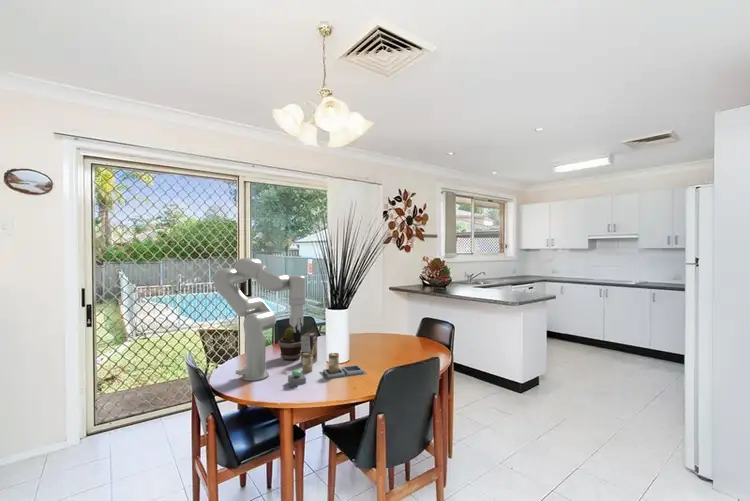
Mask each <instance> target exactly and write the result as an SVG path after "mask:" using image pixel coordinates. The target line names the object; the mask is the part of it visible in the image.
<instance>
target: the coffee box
mask: <svg viewBox="0 0 750 501" xmlns="http://www.w3.org/2000/svg"><path fill="white" fill-rule="evenodd" d="M300 337H301V357H300V359H301V360H300V365H301V366H302V363H303V357H302V355H303V353H312V365H313V364H315V363H316V362H317V361H318V332H306V333H304V334H303V335H300Z"/></svg>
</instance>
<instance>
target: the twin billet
mask: <svg viewBox="0 0 750 501" xmlns="http://www.w3.org/2000/svg"><path fill="white" fill-rule="evenodd" d="M339 357H340V354H339V353H338V352H330V353H329V354H328V369H329V374H334V373H339V368H340V366H339V365H340V364H339V362H340V358H339Z"/></svg>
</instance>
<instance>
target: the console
mask: <svg viewBox="0 0 750 501" xmlns="http://www.w3.org/2000/svg"><path fill="white" fill-rule="evenodd" d="M287 383H288V385H289V388H292V389H293V388H297V387H298V385H303V384H306V383H307V378H306V376H305V375H304V372H302V374H301V375H299V377H298V378H295V376H293V375H292V374H289V375H287Z"/></svg>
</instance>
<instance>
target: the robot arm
mask: <svg viewBox="0 0 750 501" xmlns="http://www.w3.org/2000/svg"><path fill="white" fill-rule="evenodd" d="M250 279H251V280H253V281H256V282H257V284H258V285H259V286H260V287H261V288H264V289H266V290H269V291H271V292H281V291H288V292H289V293H288V306H290V307H289V323H288V324H289V325H290V327H293V328H292V329H293V341H300V337H301V331H302V330H301V328H302V327H303V326H304V306H306V276H304V275H293V274H289V273H287V274H278V275H277V274H276V275H275V274H272V273H270V272H269V269H268V267H267V265H265V264H263V262H262V261H261V260H260V259H259V258H256V257H243V258H242V257H241V258H240V259H237V260H236V261H235V264H234V267H225V268H221V269H219V270H217V271H216V272H214V275H213V285H214V288H215V289H216V291H217V293H218V294H220V296H221V297H222V298H223V299H225V301H226V302H227V303H228V305H229V306H230V308H232V310H233V311H234V312H235V313H236V315H237V316H238V317H241V318H242V317H243V318H244V317H245V318H244V320H243V330H244V335H245V336H244V337H245V342H244V343H245V366H244V368H242V369H238V370H235V375H237V376H241V378H242V380H243V381H248V382H250V381H251V382H253V381H254V382H255V381H261V380H265V379H267V378H268V377H269V375H270V372H268V371H267V370H266V349H267V348H266V337H265V334H264V333H263V332H264V331H266V330H269V329H272V328H273V327H274V326H276V324H277V318H276V314H275V313H274V311H272V309H271V308H270V307H269V306H268V304H267V303H266V302H265V301H264V299H262V298H261V297H259V296H257V295H255V296H247V295H245V294H244V293H243V292H242V290H241V289H240V288H238V287H237V286H235V285H234V284H242V283H245V282H246V281H248V280H250Z"/></svg>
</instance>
